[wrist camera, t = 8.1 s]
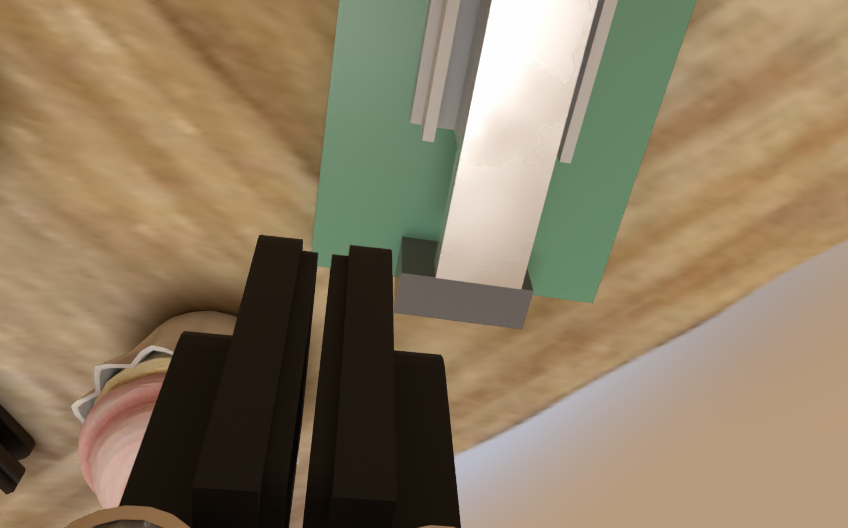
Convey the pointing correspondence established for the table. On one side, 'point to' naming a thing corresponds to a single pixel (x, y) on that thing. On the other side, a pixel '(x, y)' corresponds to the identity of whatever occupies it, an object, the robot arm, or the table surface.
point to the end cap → (12, 451)
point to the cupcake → (131, 402)
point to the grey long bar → (510, 137)
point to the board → (438, 138)
